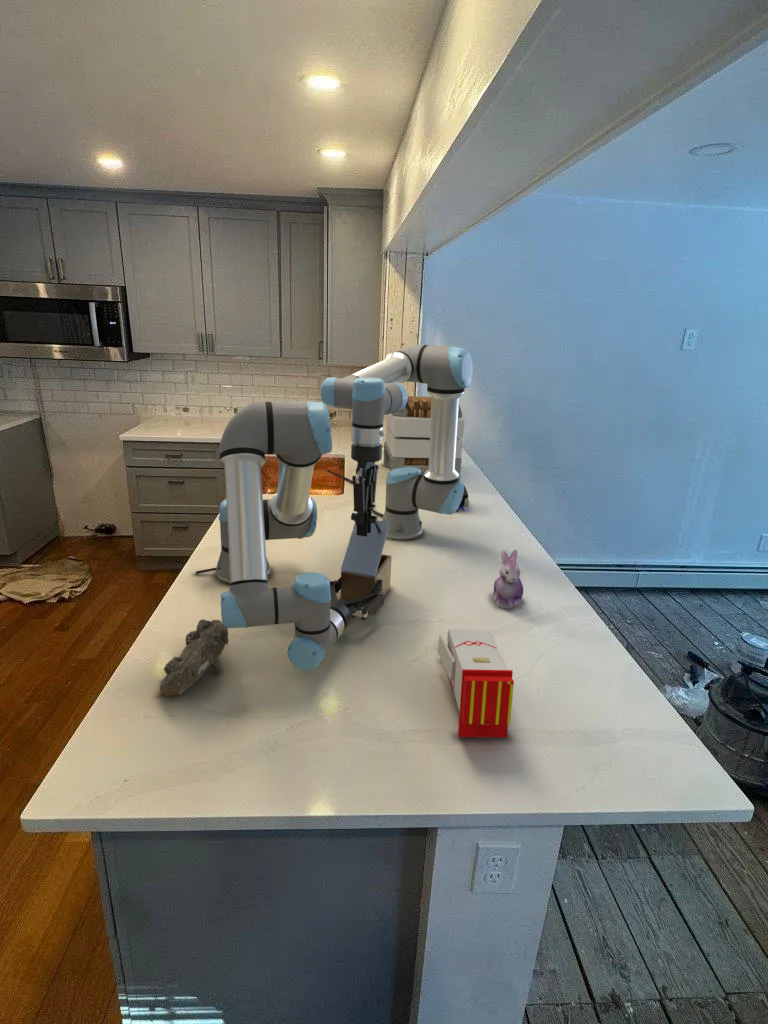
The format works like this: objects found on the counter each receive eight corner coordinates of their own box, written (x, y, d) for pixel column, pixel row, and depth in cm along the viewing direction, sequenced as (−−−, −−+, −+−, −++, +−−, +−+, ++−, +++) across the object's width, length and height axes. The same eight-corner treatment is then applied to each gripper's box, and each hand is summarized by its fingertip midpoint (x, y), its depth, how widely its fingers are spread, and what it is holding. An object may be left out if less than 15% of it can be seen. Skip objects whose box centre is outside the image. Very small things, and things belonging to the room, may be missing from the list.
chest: (359, 582, 163) (360, 550, 160) (390, 587, 161) (391, 555, 157) (340, 606, 150) (340, 572, 147) (373, 612, 148) (375, 578, 144)
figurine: (505, 613, 150) (512, 561, 145) (482, 596, 158) (488, 546, 153) (533, 606, 154) (540, 555, 149) (509, 589, 163) (515, 541, 158)
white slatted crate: (382, 463, 289) (386, 382, 275) (445, 464, 293) (451, 384, 279) (390, 482, 257) (394, 392, 243) (460, 483, 261) (468, 394, 247)
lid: (357, 518, 153) (349, 502, 146) (390, 523, 151) (384, 507, 143) (341, 571, 147) (332, 557, 139) (375, 577, 144) (368, 563, 137)
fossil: (183, 622, 131) (229, 592, 126) (212, 650, 134) (258, 621, 129) (138, 690, 111) (189, 657, 106) (173, 721, 114) (225, 691, 109)
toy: (488, 613, 130) (523, 677, 101) (484, 667, 133) (517, 744, 104) (435, 612, 130) (455, 676, 101) (432, 666, 133) (451, 743, 103)
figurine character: (468, 516, 224) (463, 500, 237) (471, 498, 221) (465, 483, 234) (452, 515, 224) (447, 499, 237) (453, 498, 220) (449, 482, 234)
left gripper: (286, 627, 134) (324, 586, 155) (375, 645, 128) (401, 601, 149) (286, 598, 132) (324, 561, 152) (376, 616, 126) (403, 575, 146)
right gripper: (371, 451, 130) (368, 546, 138) (390, 439, 143) (386, 526, 151) (341, 448, 132) (339, 541, 140) (362, 436, 145) (359, 521, 153)
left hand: (362, 581), depth 150 cm, fingers closed on chest, 9 cm apart
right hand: (363, 533), depth 145 cm, fingers closed on lid, 2 cm apart
